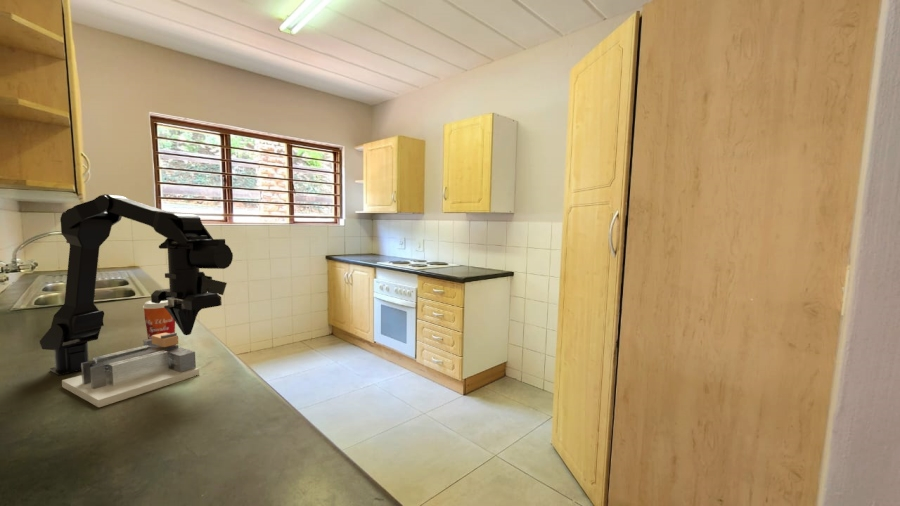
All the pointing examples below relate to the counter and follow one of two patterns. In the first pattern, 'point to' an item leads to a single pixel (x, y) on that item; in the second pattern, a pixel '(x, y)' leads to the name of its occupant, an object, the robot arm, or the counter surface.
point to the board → (124, 387)
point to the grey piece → (136, 365)
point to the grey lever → (136, 355)
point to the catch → (165, 339)
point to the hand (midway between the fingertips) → (187, 334)
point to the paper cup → (158, 319)
